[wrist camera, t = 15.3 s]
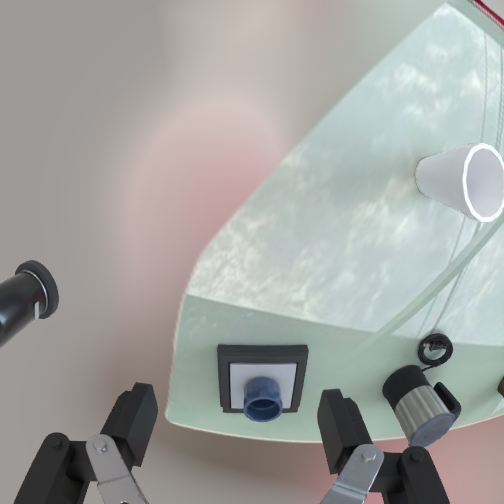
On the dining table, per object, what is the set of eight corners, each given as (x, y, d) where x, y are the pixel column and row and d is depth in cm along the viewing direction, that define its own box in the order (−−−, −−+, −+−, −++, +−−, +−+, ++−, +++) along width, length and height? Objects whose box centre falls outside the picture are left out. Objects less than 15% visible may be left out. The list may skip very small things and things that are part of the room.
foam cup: (411, 138, 35) (467, 131, 22) (454, 157, 35) (510, 158, 23) (402, 199, 37) (456, 212, 25) (445, 213, 38) (500, 229, 25)
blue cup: (243, 400, 42) (243, 421, 38) (244, 375, 41) (243, 397, 36) (278, 400, 42) (280, 421, 38) (281, 375, 41) (284, 396, 36)
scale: (221, 401, 46) (219, 412, 44) (218, 344, 43) (216, 355, 40) (298, 401, 47) (300, 412, 44) (307, 344, 43) (310, 355, 40)
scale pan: (231, 403, 44) (231, 408, 43) (230, 359, 42) (230, 364, 40) (289, 402, 44) (290, 408, 43) (295, 359, 42) (296, 364, 40)
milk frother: (379, 404, 48) (404, 456, 33) (384, 346, 44) (422, 400, 29) (436, 382, 47) (467, 425, 33) (447, 323, 43) (492, 365, 29)
